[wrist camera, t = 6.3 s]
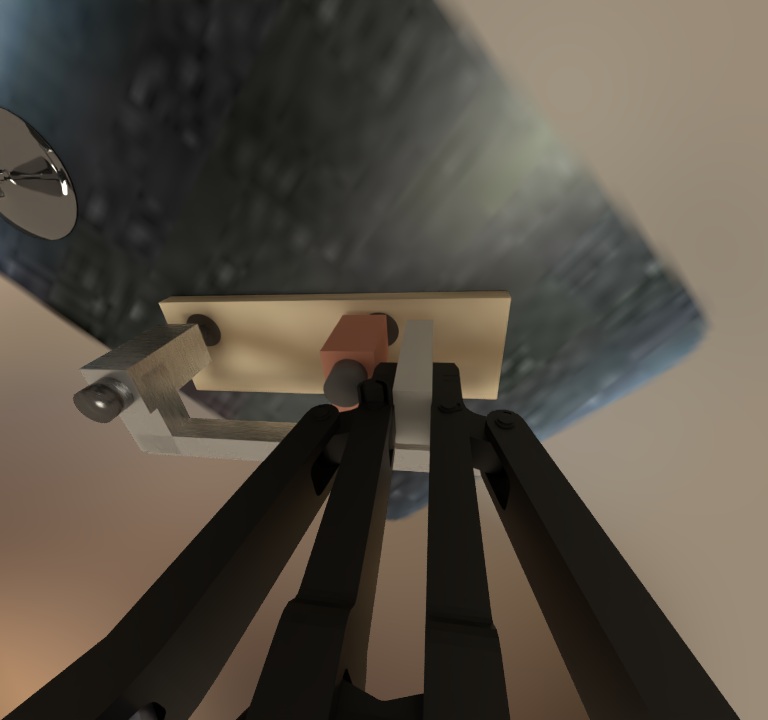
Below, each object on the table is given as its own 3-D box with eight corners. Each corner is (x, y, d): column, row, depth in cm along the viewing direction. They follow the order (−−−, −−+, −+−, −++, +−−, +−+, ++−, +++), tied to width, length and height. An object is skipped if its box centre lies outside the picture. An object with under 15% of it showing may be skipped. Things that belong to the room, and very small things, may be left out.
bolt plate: (171, 296, 22) (158, 302, 21) (506, 290, 19) (511, 298, 18) (206, 380, 25) (196, 389, 24) (493, 388, 22) (496, 399, 21)
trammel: (178, 312, 21) (52, 383, 14) (500, 309, 18) (541, 398, 11) (210, 387, 24) (118, 476, 17) (489, 396, 21) (515, 508, 14)
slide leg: (343, 313, 19) (306, 371, 14) (386, 313, 19) (366, 373, 13) (357, 415, 23) (333, 492, 18) (393, 417, 23) (380, 496, 17)
